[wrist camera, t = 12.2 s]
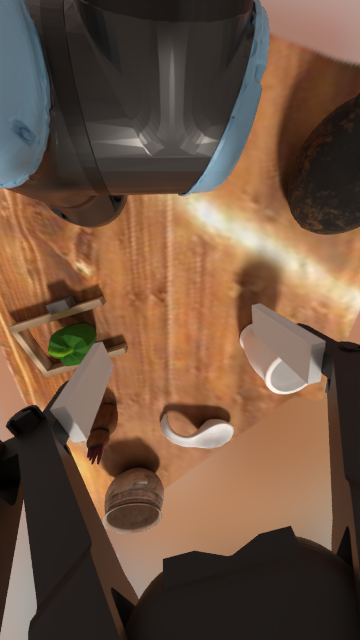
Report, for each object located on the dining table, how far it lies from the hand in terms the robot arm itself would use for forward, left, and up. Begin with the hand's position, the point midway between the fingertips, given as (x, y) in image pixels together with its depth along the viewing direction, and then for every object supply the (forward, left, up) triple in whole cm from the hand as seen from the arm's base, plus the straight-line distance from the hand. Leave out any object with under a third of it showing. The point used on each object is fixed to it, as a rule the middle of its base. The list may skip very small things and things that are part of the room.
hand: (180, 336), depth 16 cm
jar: (+21, +17, -26) cm, 38 cm away
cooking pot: (+63, -32, -26) cm, 75 cm away
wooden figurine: (+30, -28, -26) cm, 48 cm away
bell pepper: (+6, -22, -26) cm, 35 cm away
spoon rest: (+47, -5, -27) cm, 54 cm away
